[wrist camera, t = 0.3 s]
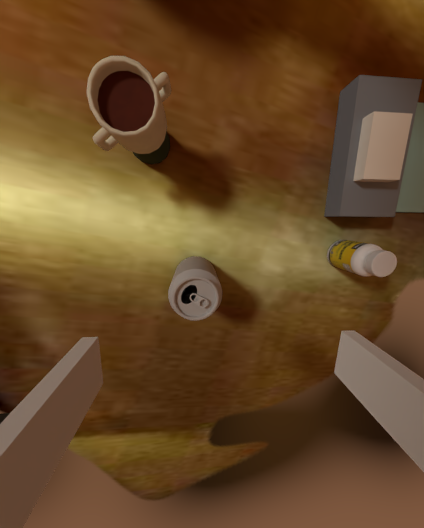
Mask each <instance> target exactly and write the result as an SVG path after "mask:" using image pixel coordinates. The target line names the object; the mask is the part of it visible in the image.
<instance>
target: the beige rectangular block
mask: <svg viewBox="0 0 424 528" xmlns="http://www.w3.org/2000/svg"><path fill="white" fill-rule="evenodd" d="M412 115H413V114H411V113H394V112H377V111H374V112H372V113H371V114H369V115H367V116H366V117H364V118H363V120H362V127H361V133H360V140H359V146H358V153H357V160H356V166H355V173H354V179H353V181H361V182H391V181H397V180H400V175H401V170H402V165H403V160H404V155H405V150H406V145H407V140H408V135H409V130H410V125H411V120H412Z"/></svg>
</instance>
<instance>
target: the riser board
mask: <svg viewBox="0 0 424 528" xmlns="http://www.w3.org/2000/svg"><path fill="white" fill-rule="evenodd" d="M421 83H422V79H409V78H396V77H383V76H369V75H359V76H358V77H357V78H355V79H354V80H353V81H352V82H351V83H350V84H349V85H347V86H346V87H345V88H344V89H343V90H342V91H341V92H340V98H339V106H338V114H337V122H336V130H335V138H334V146H333V153H332V161H331V169H330V177H329V185H328V193H327V201H326V208H325V216H326V217H395V213H396V208H397V203H398V198H399V193H400V188H401V183H402V178H403V173H404V168H405V163H406V158H407V153H408V148H409V143H410V138H411V133H412V128H413V123H414V118H415V113H416V108H417V103H418V98H419V93H420V88H421ZM374 111H377V112H394V113H411V114H413V115H412V120H411V125H410V130H409V135H408V140H407V145H406V150H405V155H404V160H403V165H402V170H401V175H400V180H397V181H391V182H361V181H353V179H354V173H355V166H356V160H357V153H358V146H359V140H360V133H361V127H362V120H363V118H364V117H366V116H367V115H369V114H371V113H372V112H374Z"/></svg>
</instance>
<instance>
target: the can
mask: <svg viewBox="0 0 424 528" xmlns="http://www.w3.org/2000/svg"><path fill="white" fill-rule="evenodd" d="M221 300H222V288H221V285H220V282H219V279H218V277H217V274H216V272H215V269H214V267H213V266H212V264H211V263H210V262H209V261H208V260H206V259H205V258H202V257H195V256H193V257H189V258H186V259H185V260H183V261H182V262H181V263H180V264H179V265H178V266H177V269H176V271H175V274H174V277H173V280H172V282H171V285H170V288H169V301H170V304H171V307H172V308H173V309H174V310H175V312H176V313H178V314H179V315H180V316H182V317H183V318H185V319H188V320H202V319H205V318H207V317H209V316H210V315H212V314H213V313H214V312H215V311H216V309H217V308H218V307H219V305H220V303H221Z"/></svg>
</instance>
